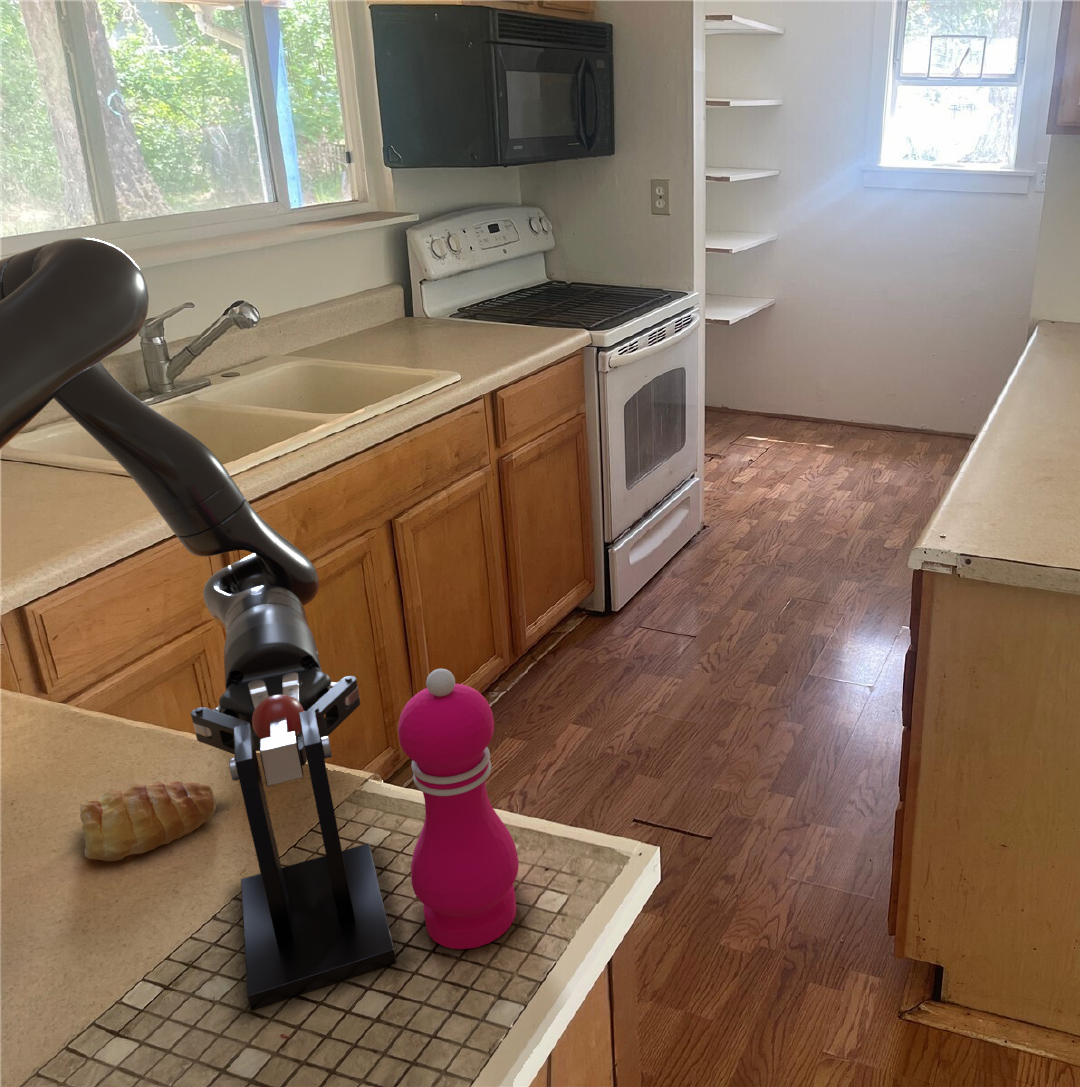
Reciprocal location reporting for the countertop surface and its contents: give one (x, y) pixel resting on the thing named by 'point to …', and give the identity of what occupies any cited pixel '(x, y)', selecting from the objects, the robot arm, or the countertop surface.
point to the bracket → (306, 892)
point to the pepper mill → (457, 816)
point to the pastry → (143, 817)
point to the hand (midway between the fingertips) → (286, 765)
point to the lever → (279, 738)
